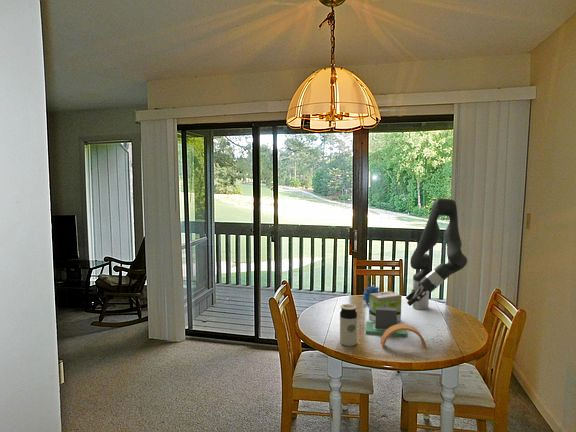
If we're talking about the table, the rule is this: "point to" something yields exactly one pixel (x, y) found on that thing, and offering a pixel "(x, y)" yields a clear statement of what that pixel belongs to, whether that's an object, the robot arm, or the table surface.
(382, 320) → the block
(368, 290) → the grapes
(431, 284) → the robot arm
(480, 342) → the table surface
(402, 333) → the board
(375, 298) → the tea box
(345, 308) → the travel mug
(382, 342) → the arch
